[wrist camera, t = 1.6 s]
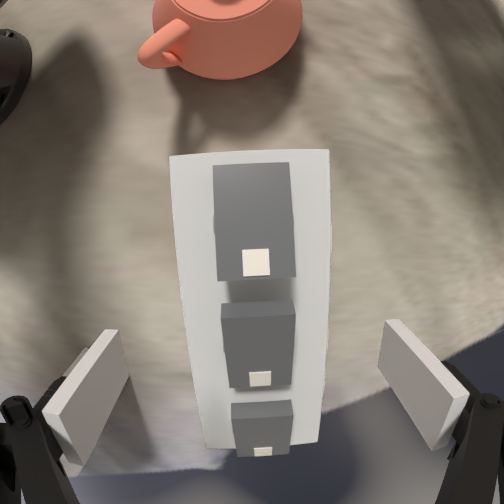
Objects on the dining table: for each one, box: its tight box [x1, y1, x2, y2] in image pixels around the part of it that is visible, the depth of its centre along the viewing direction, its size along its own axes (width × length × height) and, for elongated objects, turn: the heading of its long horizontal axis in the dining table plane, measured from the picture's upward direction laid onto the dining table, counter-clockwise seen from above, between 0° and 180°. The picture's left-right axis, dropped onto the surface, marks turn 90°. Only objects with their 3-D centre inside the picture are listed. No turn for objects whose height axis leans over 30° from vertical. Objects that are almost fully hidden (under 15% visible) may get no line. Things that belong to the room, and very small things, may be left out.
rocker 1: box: [213, 162, 296, 281], centre depth 26 cm, size 9×6×3 cm
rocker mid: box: [220, 300, 296, 388], centre depth 28 cm, size 9×6×3 cm
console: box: [169, 149, 332, 449], centre depth 33 cm, size 34×15×7 cm, turn 2°
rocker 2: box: [231, 399, 294, 457], centre depth 31 cm, size 9×6×3 cm
